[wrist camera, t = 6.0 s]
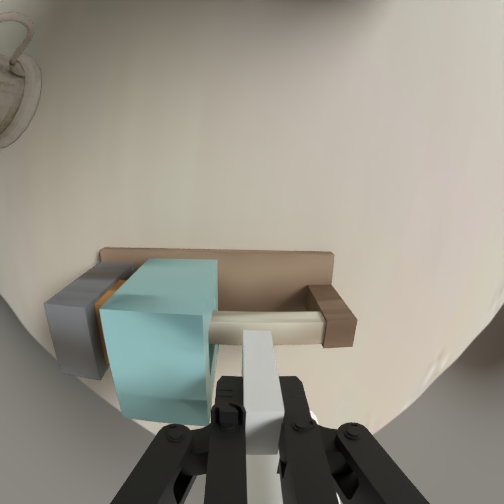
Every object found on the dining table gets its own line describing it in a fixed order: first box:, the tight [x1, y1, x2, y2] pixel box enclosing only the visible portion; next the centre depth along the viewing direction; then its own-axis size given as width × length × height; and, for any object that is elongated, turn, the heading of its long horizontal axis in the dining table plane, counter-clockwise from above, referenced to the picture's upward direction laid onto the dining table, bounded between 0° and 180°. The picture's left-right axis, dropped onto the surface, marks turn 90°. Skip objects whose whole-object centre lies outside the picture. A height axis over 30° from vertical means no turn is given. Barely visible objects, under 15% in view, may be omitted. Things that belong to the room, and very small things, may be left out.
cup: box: [246, 411, 341, 504], centre depth 23 cm, size 8×8×16 cm
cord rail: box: [44, 247, 357, 380], centre depth 21 cm, size 7×19×10 cm, turn 88°
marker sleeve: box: [99, 258, 219, 426], centre depth 19 cm, size 7×5×9 cm
